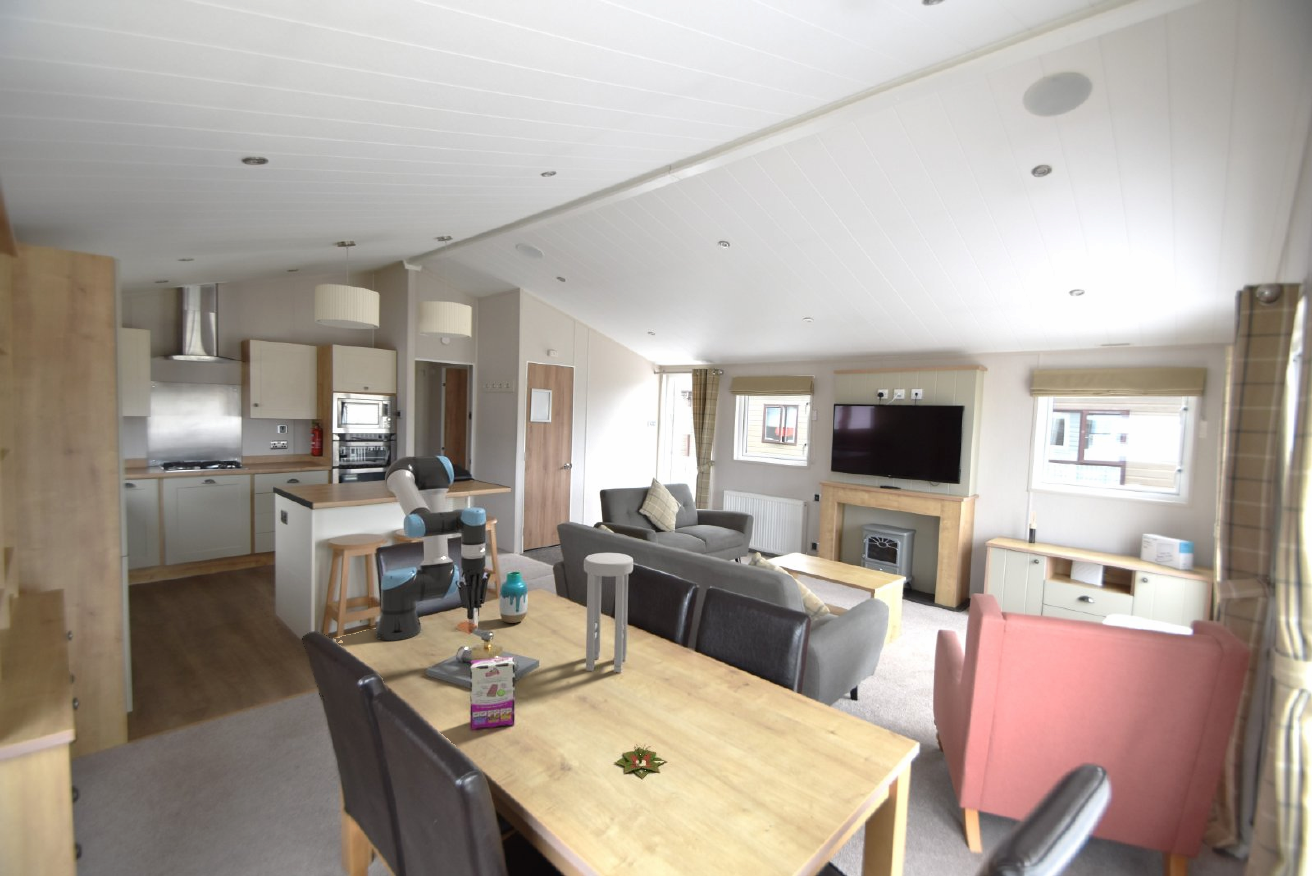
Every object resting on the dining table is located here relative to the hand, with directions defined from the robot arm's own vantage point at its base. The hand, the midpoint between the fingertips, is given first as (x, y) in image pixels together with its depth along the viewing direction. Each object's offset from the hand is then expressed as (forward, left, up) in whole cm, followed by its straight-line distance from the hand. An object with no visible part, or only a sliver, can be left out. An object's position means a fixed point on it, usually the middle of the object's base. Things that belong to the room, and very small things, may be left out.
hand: (473, 627), depth 191 cm
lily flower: (+75, -24, -12) cm, 79 cm away
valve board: (+8, -4, -11) cm, 14 cm away
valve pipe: (+10, -5, -9) cm, 15 cm away
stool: (+39, +19, -11) cm, 45 cm away
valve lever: (+5, -4, 0) cm, 6 cm away
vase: (-13, +35, -11) cm, 39 cm away
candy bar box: (+32, -27, -11) cm, 44 cm away
